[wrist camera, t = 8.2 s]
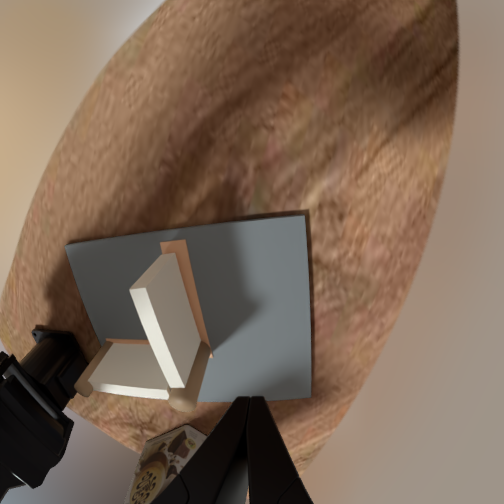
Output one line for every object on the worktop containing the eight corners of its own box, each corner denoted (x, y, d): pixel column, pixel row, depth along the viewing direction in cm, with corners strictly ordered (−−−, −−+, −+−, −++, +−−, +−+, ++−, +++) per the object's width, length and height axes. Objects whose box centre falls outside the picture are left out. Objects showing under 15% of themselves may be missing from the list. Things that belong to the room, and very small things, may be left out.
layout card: (127, 392, 25) (126, 396, 24) (67, 244, 20) (63, 246, 19) (310, 394, 23) (311, 398, 23) (303, 214, 18) (304, 215, 17)
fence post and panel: (109, 354, 23) (80, 397, 17) (101, 338, 22) (70, 380, 17) (213, 357, 22) (198, 412, 16) (208, 339, 21) (191, 394, 16)
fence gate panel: (200, 340, 21) (184, 387, 16) (188, 341, 21) (170, 387, 16) (175, 252, 18) (145, 287, 14) (161, 254, 18) (129, 289, 14)
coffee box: (185, 421, 26) (148, 555, 11) (230, 447, 27) (212, 570, 12) (143, 440, 28) (106, 544, 13) (183, 463, 30) (159, 562, 15)
